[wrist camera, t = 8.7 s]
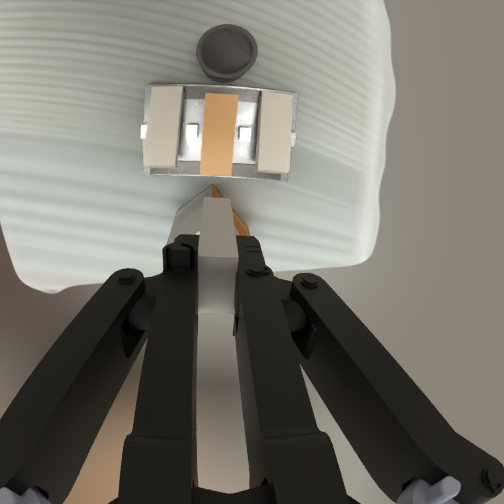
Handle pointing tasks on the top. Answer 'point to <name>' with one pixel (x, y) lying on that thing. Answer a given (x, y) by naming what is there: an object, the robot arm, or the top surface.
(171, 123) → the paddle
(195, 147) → the plate
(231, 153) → the paddle mid
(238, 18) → the top surface
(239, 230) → the small box
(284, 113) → the beige rectangular tile
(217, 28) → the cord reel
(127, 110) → the top surface
